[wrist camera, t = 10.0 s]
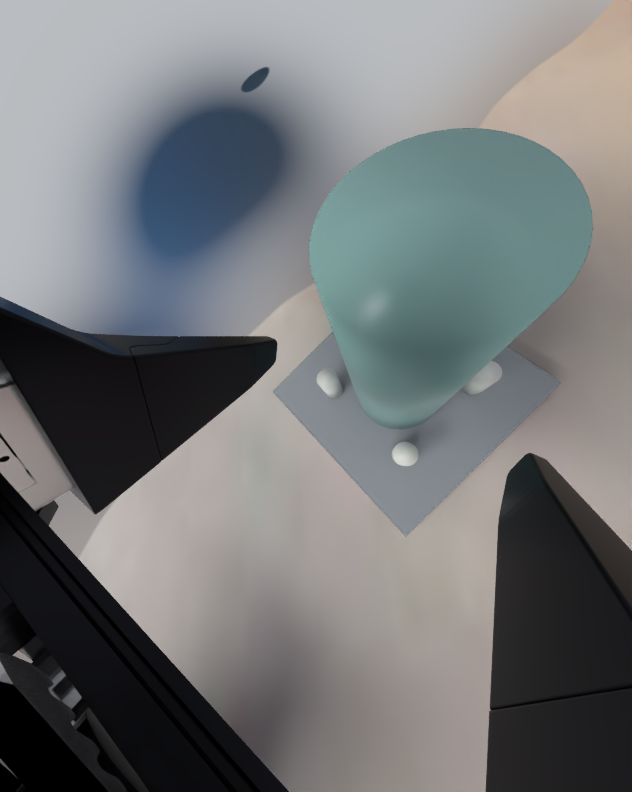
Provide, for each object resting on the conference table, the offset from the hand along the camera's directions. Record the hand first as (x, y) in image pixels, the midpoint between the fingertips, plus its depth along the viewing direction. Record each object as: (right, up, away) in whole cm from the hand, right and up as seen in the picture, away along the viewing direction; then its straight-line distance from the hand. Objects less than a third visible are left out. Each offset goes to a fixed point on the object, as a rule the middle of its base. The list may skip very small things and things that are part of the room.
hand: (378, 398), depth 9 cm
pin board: (+3, 0, +8) cm, 9 cm away
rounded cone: (+3, +1, +7) cm, 8 cm away
